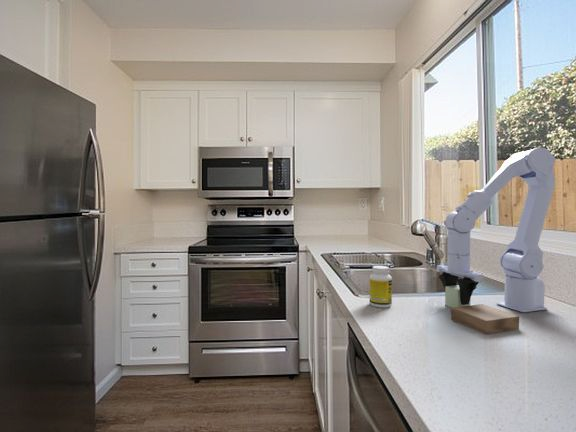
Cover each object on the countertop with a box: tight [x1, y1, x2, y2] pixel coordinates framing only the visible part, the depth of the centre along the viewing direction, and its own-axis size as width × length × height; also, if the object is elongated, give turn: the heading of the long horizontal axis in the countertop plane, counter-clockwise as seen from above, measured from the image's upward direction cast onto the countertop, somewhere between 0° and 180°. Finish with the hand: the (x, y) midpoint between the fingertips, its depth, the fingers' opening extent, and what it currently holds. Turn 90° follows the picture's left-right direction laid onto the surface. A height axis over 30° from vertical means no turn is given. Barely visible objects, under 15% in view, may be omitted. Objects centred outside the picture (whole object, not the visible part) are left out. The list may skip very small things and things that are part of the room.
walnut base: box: [450, 303, 520, 335], centre depth 81 cm, size 10×10×3 cm
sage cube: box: [444, 284, 472, 308], centre depth 95 cm, size 4×4×6 cm
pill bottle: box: [369, 265, 393, 309], centre depth 96 cm, size 6×6×11 cm
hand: (457, 301), depth 95 cm, fingers closed on sage cube, 4 cm apart
